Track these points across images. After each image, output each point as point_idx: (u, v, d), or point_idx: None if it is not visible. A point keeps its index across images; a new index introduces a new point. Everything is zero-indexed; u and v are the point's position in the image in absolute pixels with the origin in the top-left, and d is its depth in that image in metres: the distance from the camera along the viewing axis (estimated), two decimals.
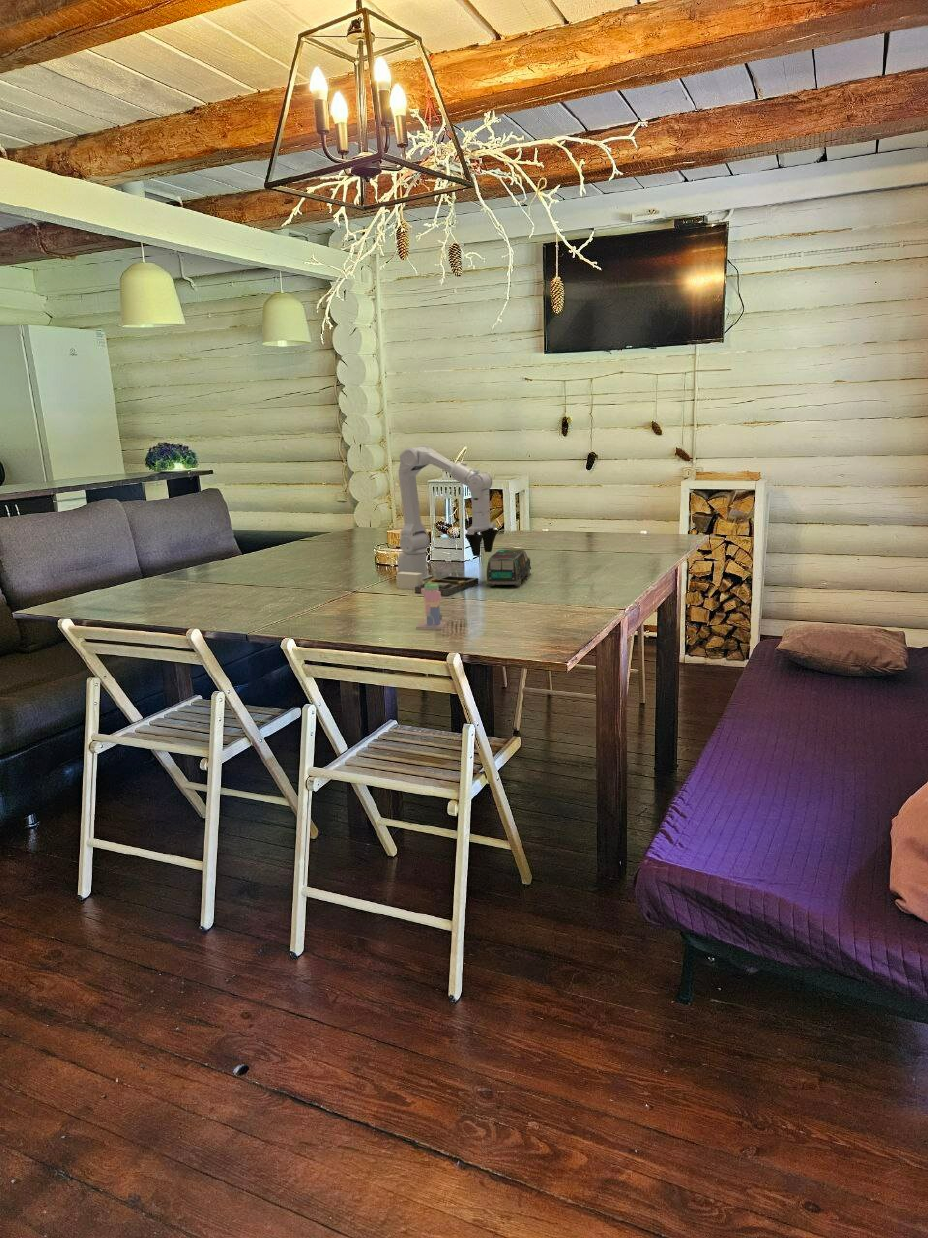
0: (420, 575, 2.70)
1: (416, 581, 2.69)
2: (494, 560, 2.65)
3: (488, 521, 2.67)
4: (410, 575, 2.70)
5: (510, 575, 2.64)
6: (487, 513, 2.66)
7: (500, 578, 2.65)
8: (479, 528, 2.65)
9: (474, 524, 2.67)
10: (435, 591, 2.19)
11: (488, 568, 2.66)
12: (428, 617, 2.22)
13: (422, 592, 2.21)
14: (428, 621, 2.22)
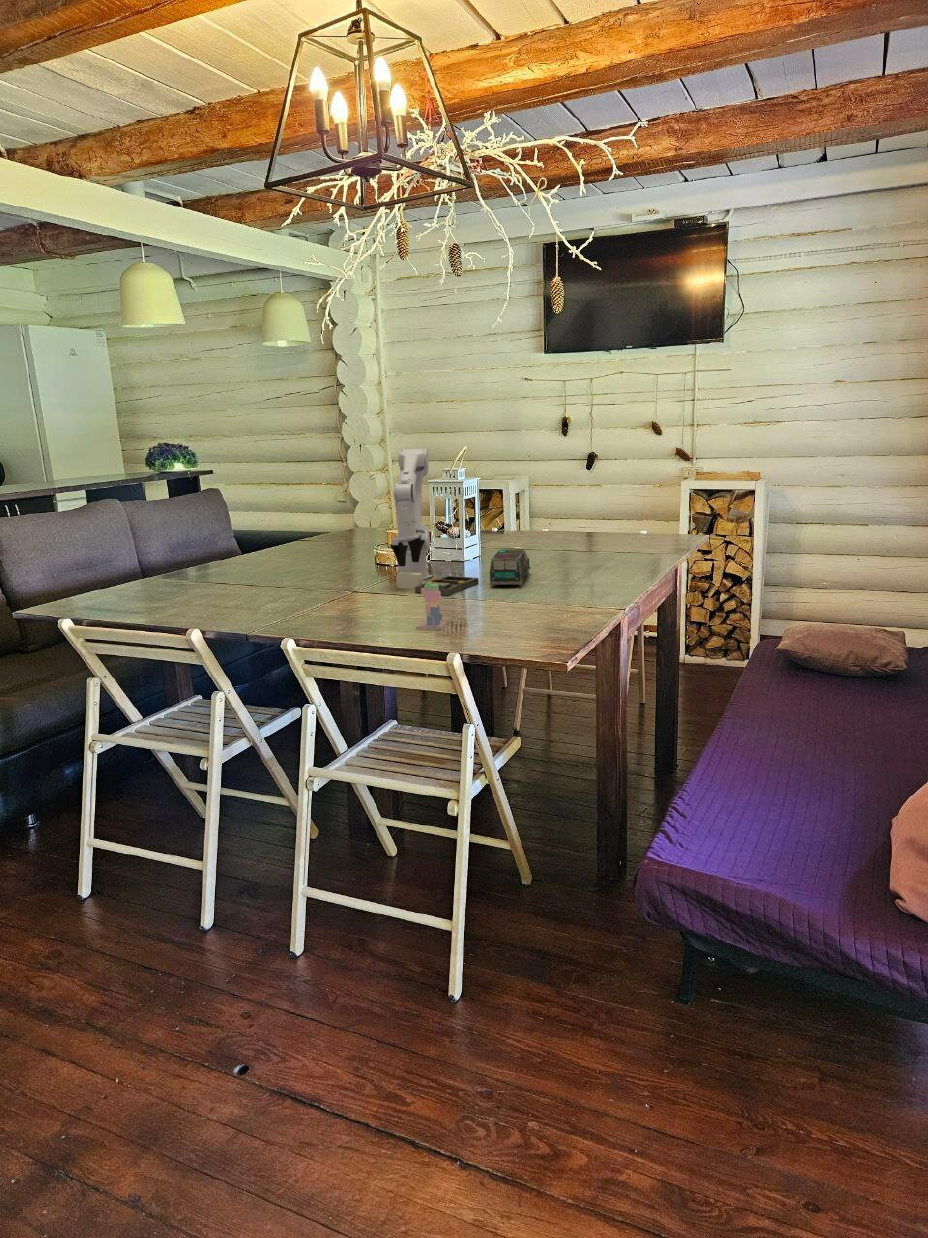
0: (420, 575, 2.70)
1: (416, 581, 2.69)
2: (497, 560, 2.65)
3: (413, 531, 2.67)
4: (410, 575, 2.70)
5: (514, 575, 2.64)
6: (412, 523, 2.66)
7: (504, 578, 2.65)
8: (404, 538, 2.65)
9: (399, 534, 2.67)
10: (435, 591, 2.19)
11: (491, 569, 2.65)
12: (428, 617, 2.22)
13: (422, 592, 2.21)
14: (428, 621, 2.22)
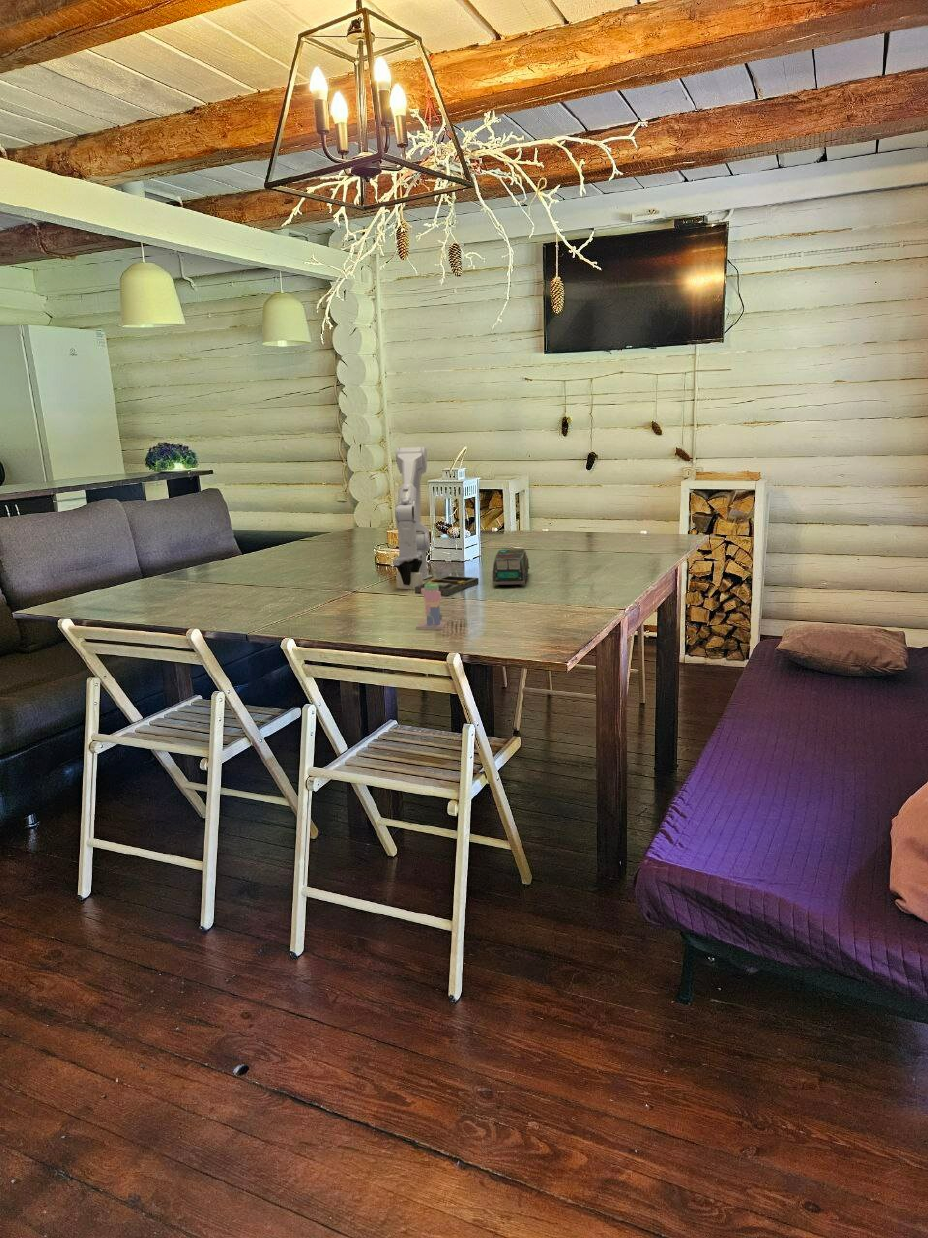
0: (420, 575, 2.70)
1: (416, 581, 2.69)
2: (500, 560, 2.65)
3: (414, 551, 2.68)
4: None
5: (517, 575, 2.65)
6: (413, 544, 2.67)
7: (507, 578, 2.65)
8: (405, 559, 2.66)
9: (401, 554, 2.69)
10: (435, 591, 2.19)
11: (494, 569, 2.65)
12: (428, 617, 2.22)
13: (422, 592, 2.21)
14: (428, 621, 2.22)
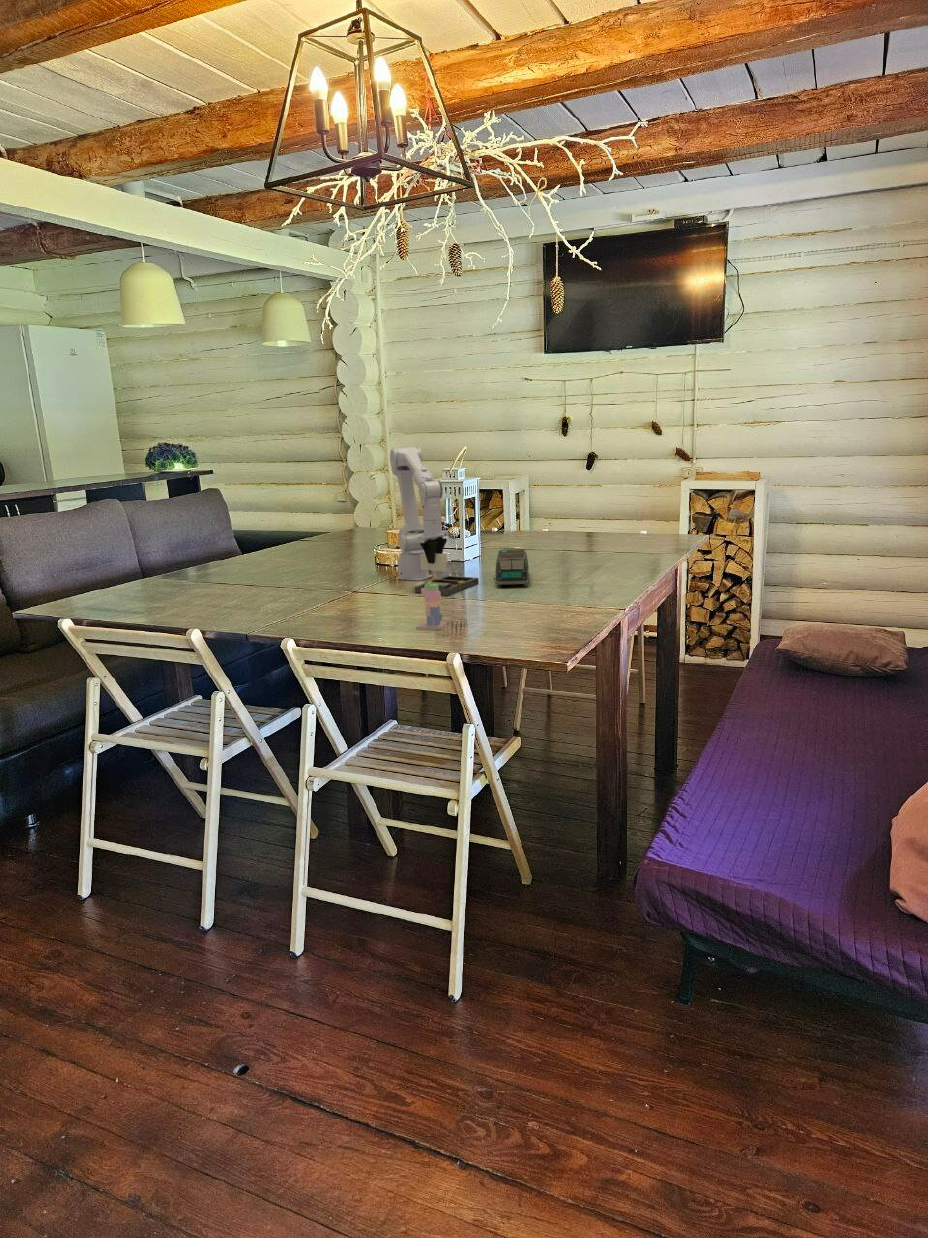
0: (444, 556, 2.66)
1: (440, 562, 2.65)
2: (504, 560, 2.65)
3: (439, 529, 2.64)
4: None
5: (521, 574, 2.65)
6: (438, 521, 2.63)
7: (511, 577, 2.65)
8: (429, 536, 2.62)
9: (425, 532, 2.64)
10: (435, 591, 2.19)
11: (498, 569, 2.65)
12: (428, 617, 2.22)
13: (422, 592, 2.21)
14: (428, 621, 2.22)
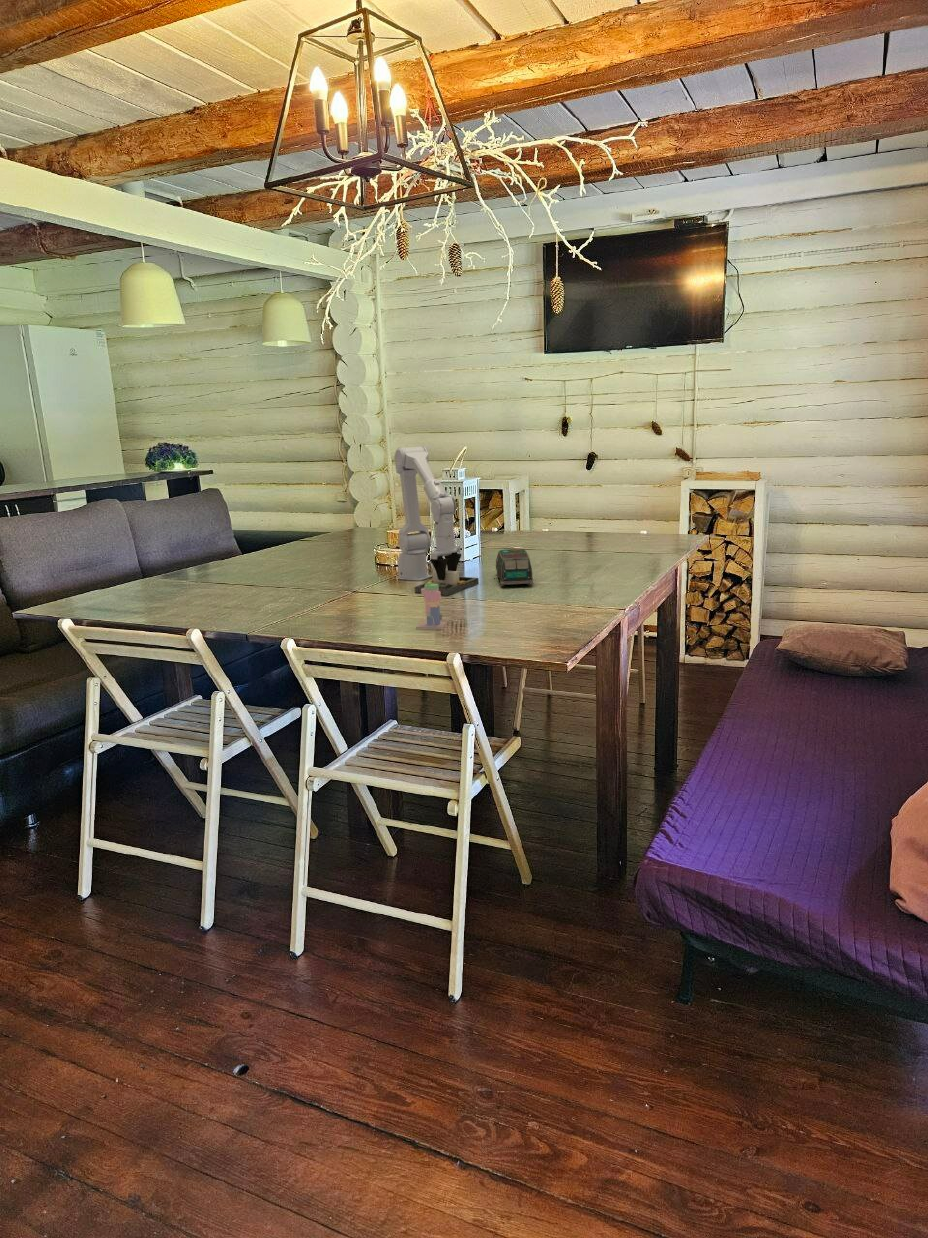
0: (457, 573, 2.67)
1: (453, 579, 2.66)
2: (508, 560, 2.65)
3: (452, 545, 2.65)
4: (447, 573, 2.67)
5: (525, 574, 2.65)
6: (451, 537, 2.64)
7: (515, 577, 2.65)
8: (442, 553, 2.62)
9: (438, 548, 2.65)
10: (435, 591, 2.19)
11: (503, 569, 2.65)
12: (428, 617, 2.22)
13: (422, 592, 2.21)
14: (428, 621, 2.22)
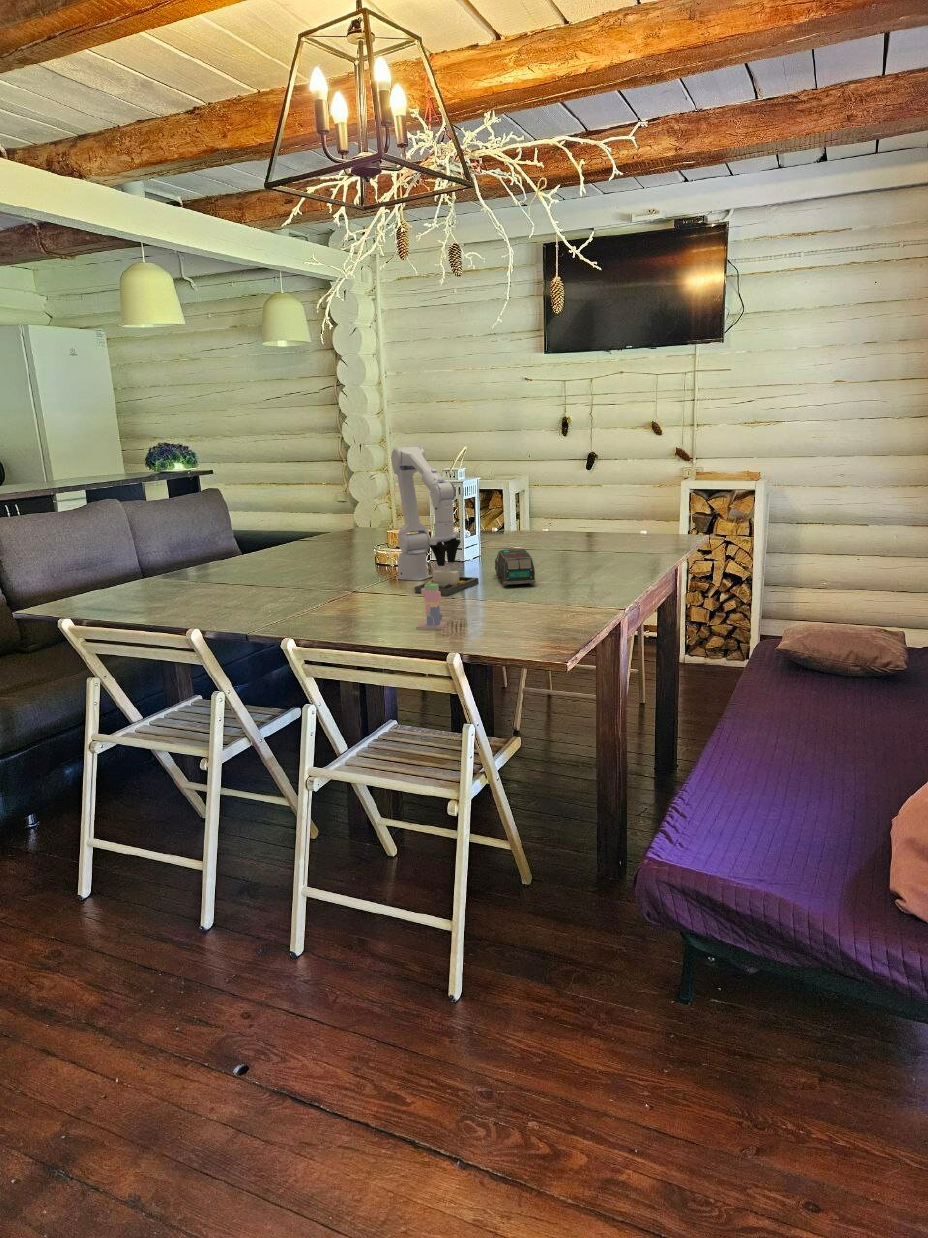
0: (457, 573, 2.67)
1: (453, 579, 2.66)
2: (511, 560, 2.65)
3: (451, 531, 2.64)
4: (447, 573, 2.67)
5: (528, 574, 2.65)
6: (450, 523, 2.63)
7: (518, 577, 2.65)
8: (442, 538, 2.61)
9: (437, 534, 2.64)
10: (435, 591, 2.19)
11: (506, 568, 2.65)
12: (428, 617, 2.22)
13: (422, 592, 2.21)
14: (428, 621, 2.22)
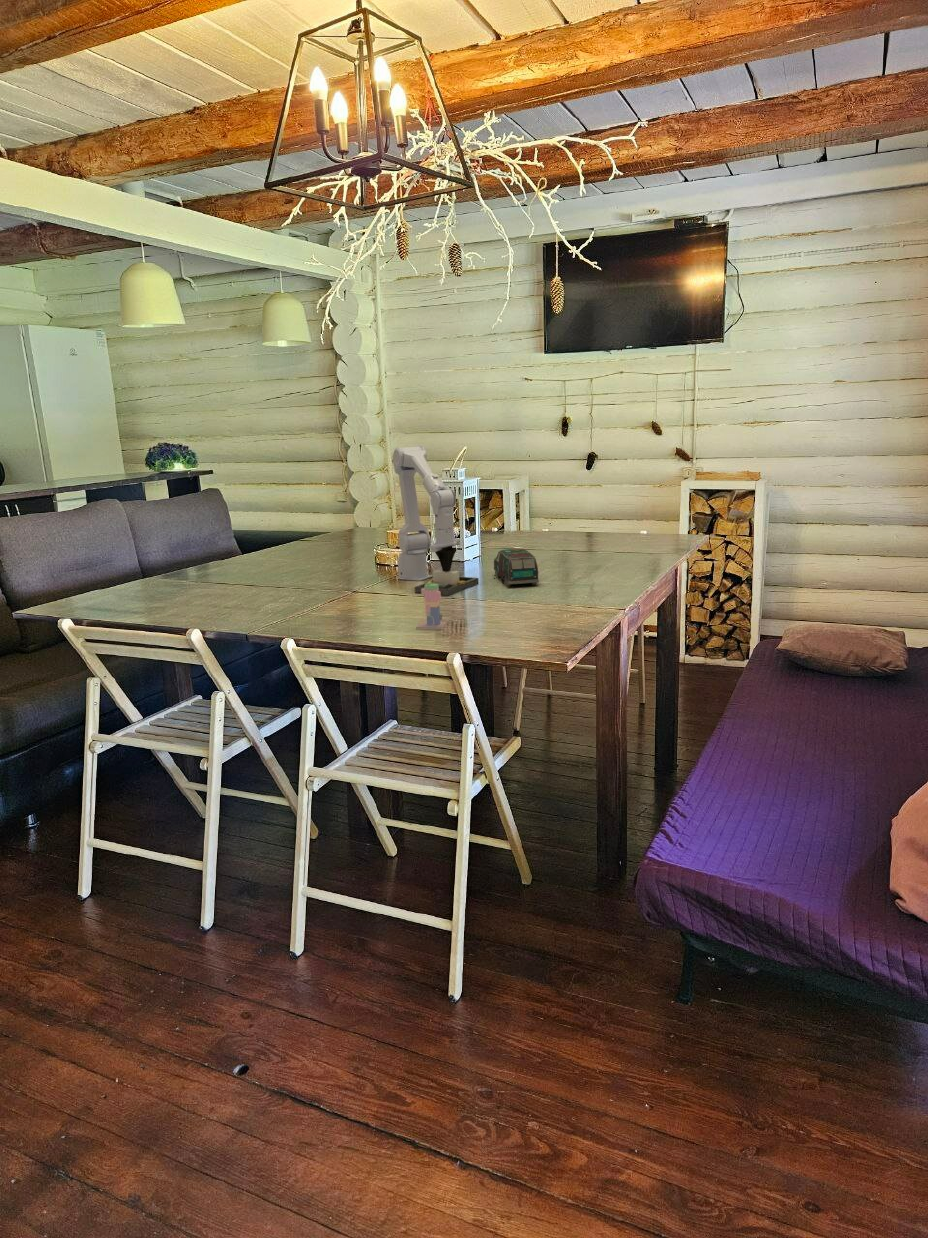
0: (457, 573, 2.67)
1: (453, 579, 2.66)
2: (515, 559, 2.65)
3: (452, 538, 2.64)
4: (447, 573, 2.67)
5: (532, 573, 2.66)
6: (450, 530, 2.63)
7: (522, 577, 2.66)
8: (442, 545, 2.62)
9: (437, 541, 2.64)
10: (435, 591, 2.19)
11: (510, 568, 2.65)
12: (428, 617, 2.22)
13: (422, 592, 2.21)
14: (428, 621, 2.22)
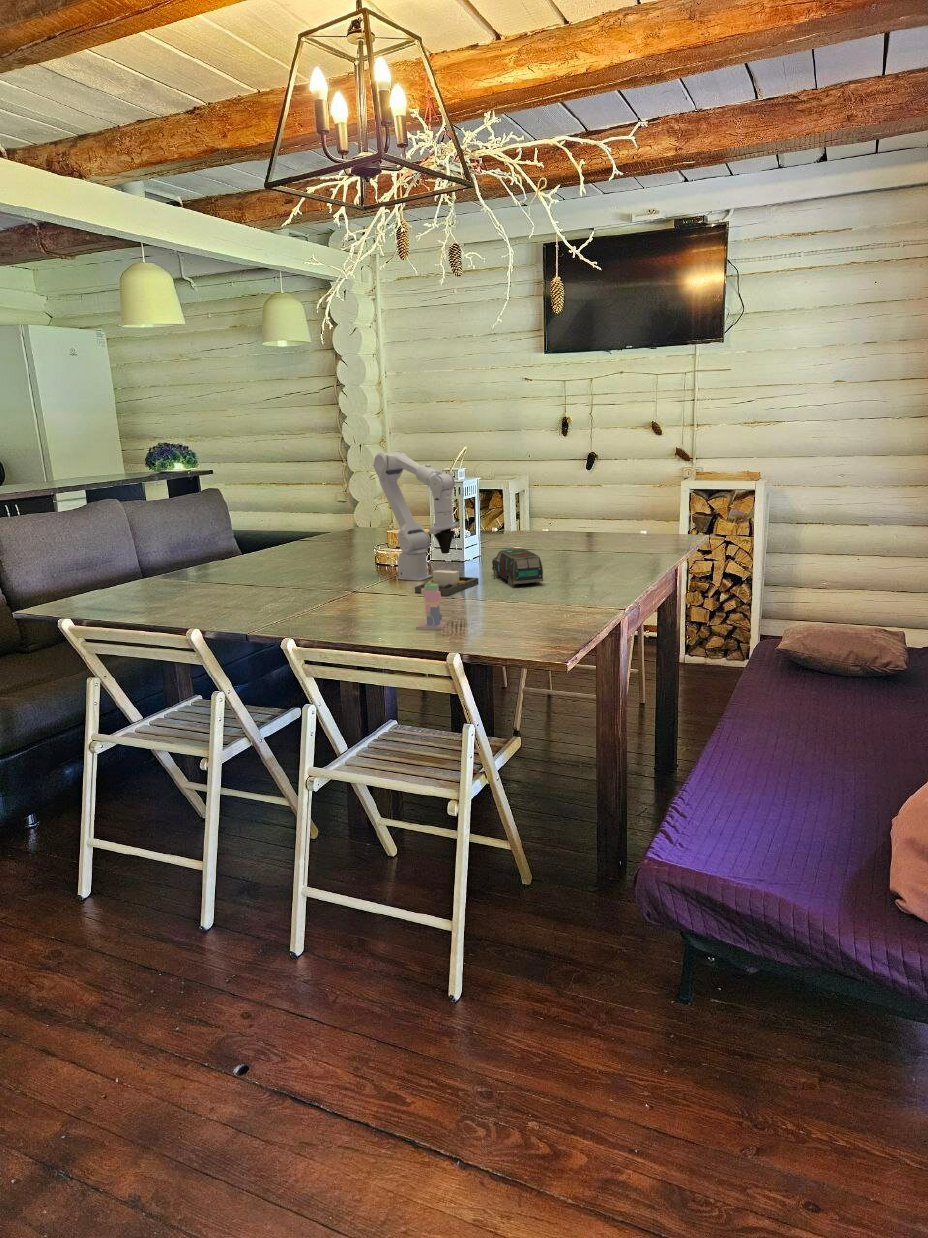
0: (457, 573, 2.67)
1: (453, 579, 2.66)
2: (520, 559, 2.65)
3: (450, 521, 2.72)
4: (447, 573, 2.67)
5: (537, 573, 2.67)
6: (449, 513, 2.71)
7: (527, 576, 2.66)
8: (441, 528, 2.70)
9: (436, 524, 2.72)
10: (435, 591, 2.19)
11: (515, 568, 2.65)
12: (428, 617, 2.22)
13: (422, 592, 2.21)
14: (428, 621, 2.22)
